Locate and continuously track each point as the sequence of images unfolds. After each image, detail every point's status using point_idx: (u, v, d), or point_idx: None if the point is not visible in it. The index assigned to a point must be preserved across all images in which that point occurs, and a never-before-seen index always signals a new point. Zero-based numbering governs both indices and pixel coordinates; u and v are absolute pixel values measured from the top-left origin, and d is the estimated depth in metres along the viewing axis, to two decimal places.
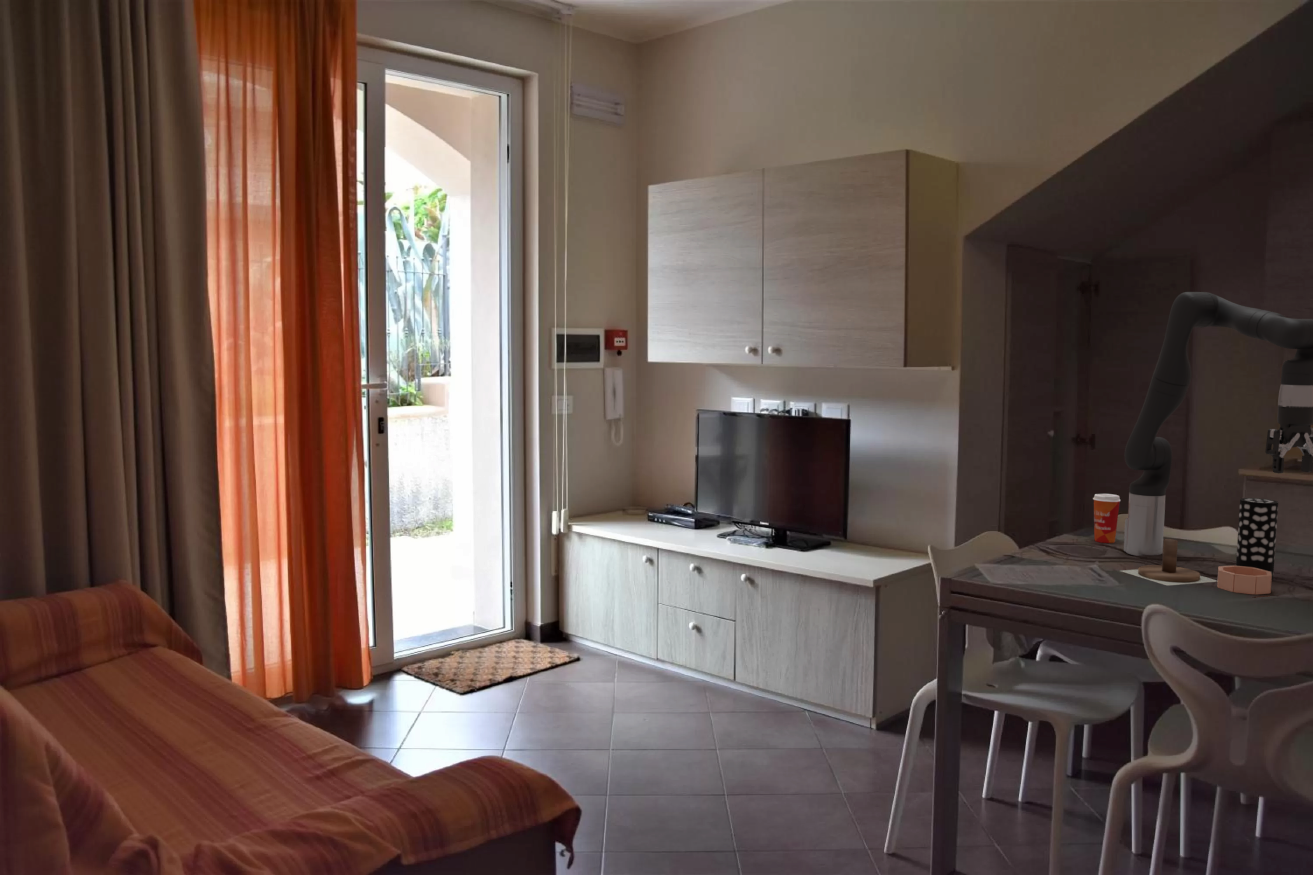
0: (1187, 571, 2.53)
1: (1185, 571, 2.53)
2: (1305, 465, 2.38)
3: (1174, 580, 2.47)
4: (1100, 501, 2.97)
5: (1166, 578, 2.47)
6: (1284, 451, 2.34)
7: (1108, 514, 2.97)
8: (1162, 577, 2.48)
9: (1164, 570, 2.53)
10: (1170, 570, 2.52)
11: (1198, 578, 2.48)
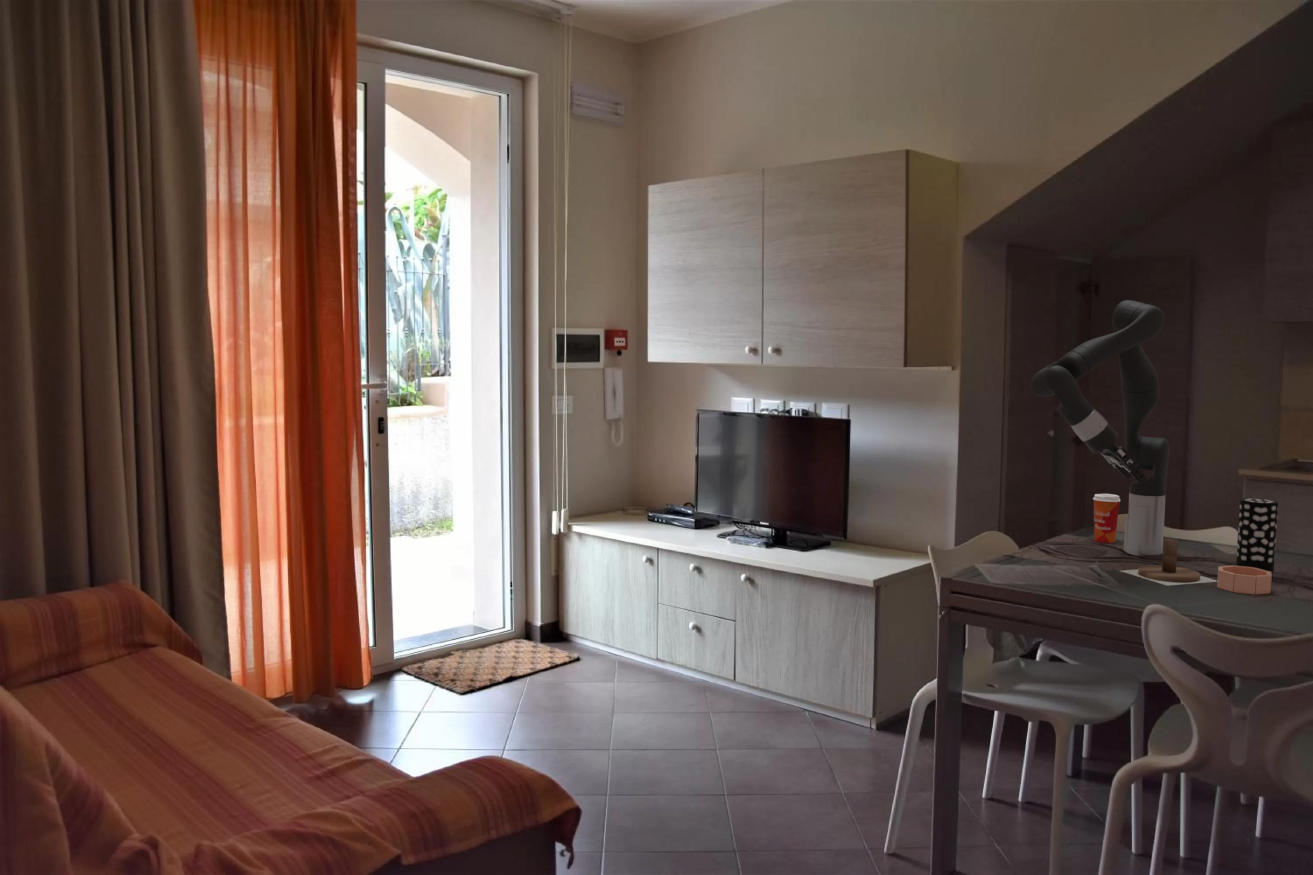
0: (1187, 571, 2.53)
1: (1185, 571, 2.53)
2: None
3: (1174, 580, 2.47)
4: (1100, 501, 2.97)
5: (1166, 578, 2.47)
6: (1113, 464, 2.57)
7: (1108, 514, 2.97)
8: (1162, 577, 2.48)
9: (1164, 570, 2.53)
10: (1170, 570, 2.52)
11: (1198, 578, 2.48)
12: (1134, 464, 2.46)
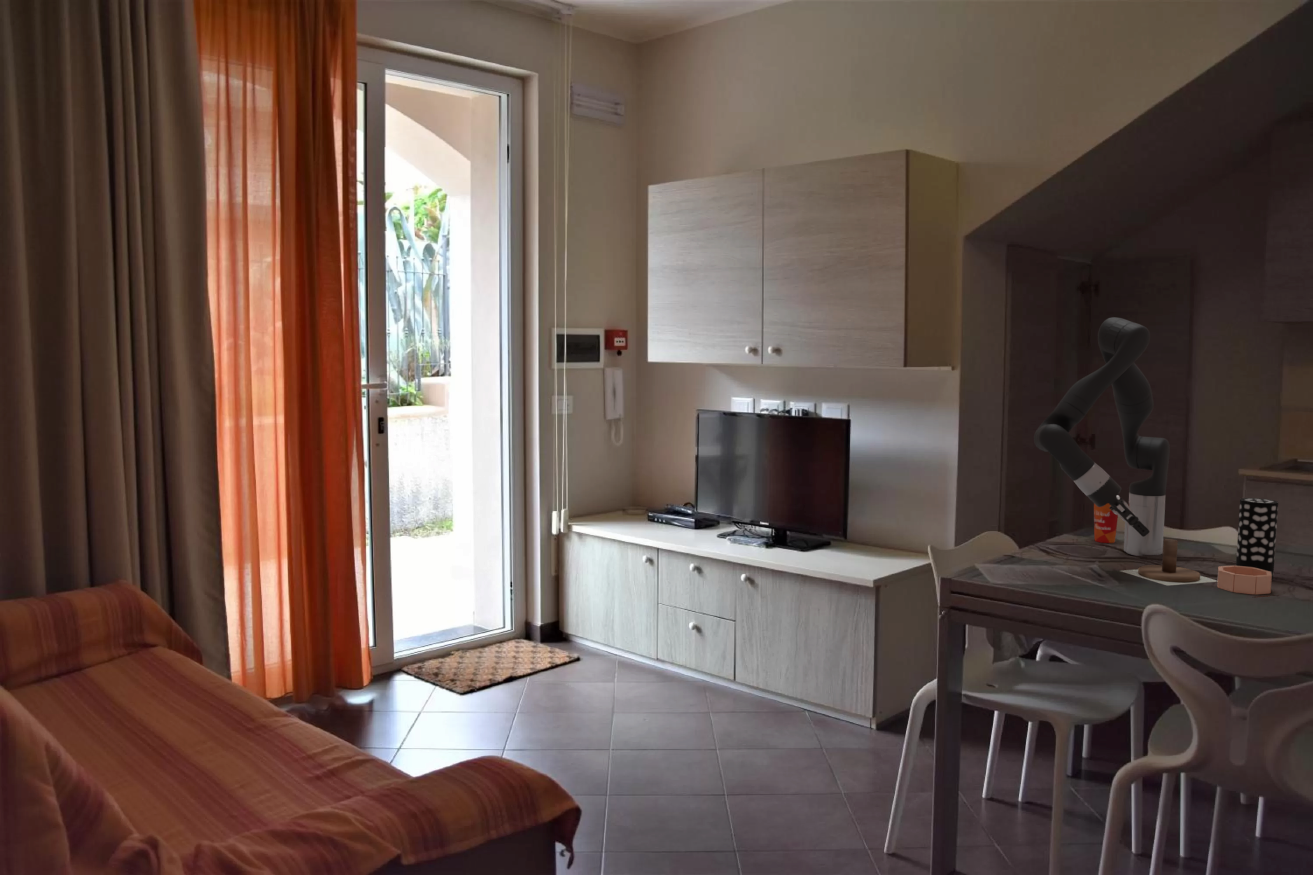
0: (1187, 571, 2.53)
1: (1185, 571, 2.53)
2: None
3: (1174, 580, 2.47)
4: None
5: (1166, 578, 2.47)
6: None
7: (1108, 514, 2.97)
8: (1162, 577, 2.48)
9: (1164, 570, 2.53)
10: (1170, 570, 2.52)
11: (1198, 578, 2.48)
12: (1134, 519, 2.48)
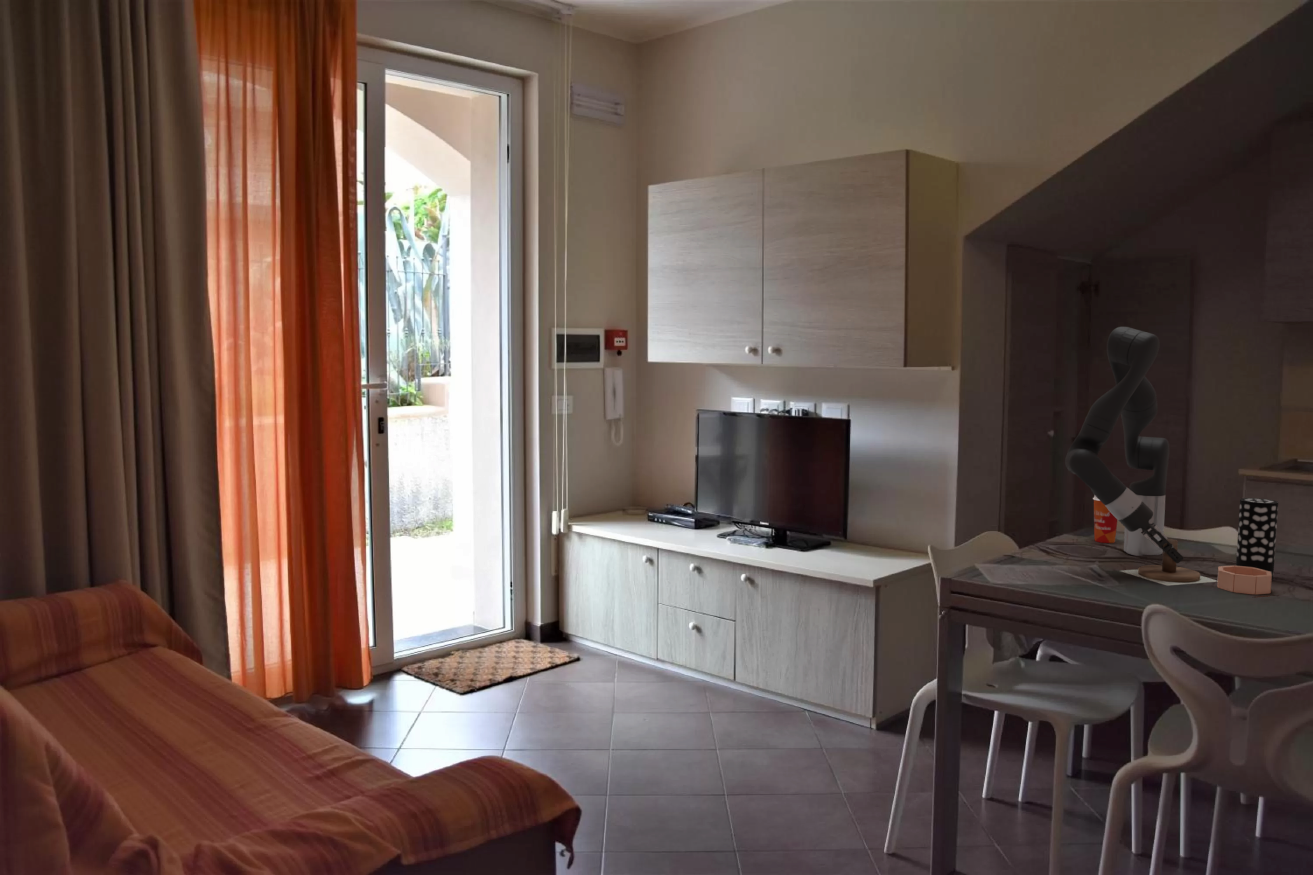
0: (1187, 571, 2.53)
1: (1185, 571, 2.53)
2: None
3: (1174, 580, 2.47)
4: (1100, 501, 2.97)
5: (1166, 578, 2.47)
6: None
7: (1108, 514, 2.97)
8: (1162, 577, 2.48)
9: (1164, 570, 2.53)
10: (1170, 570, 2.52)
11: (1198, 578, 2.48)
12: (1168, 546, 2.49)
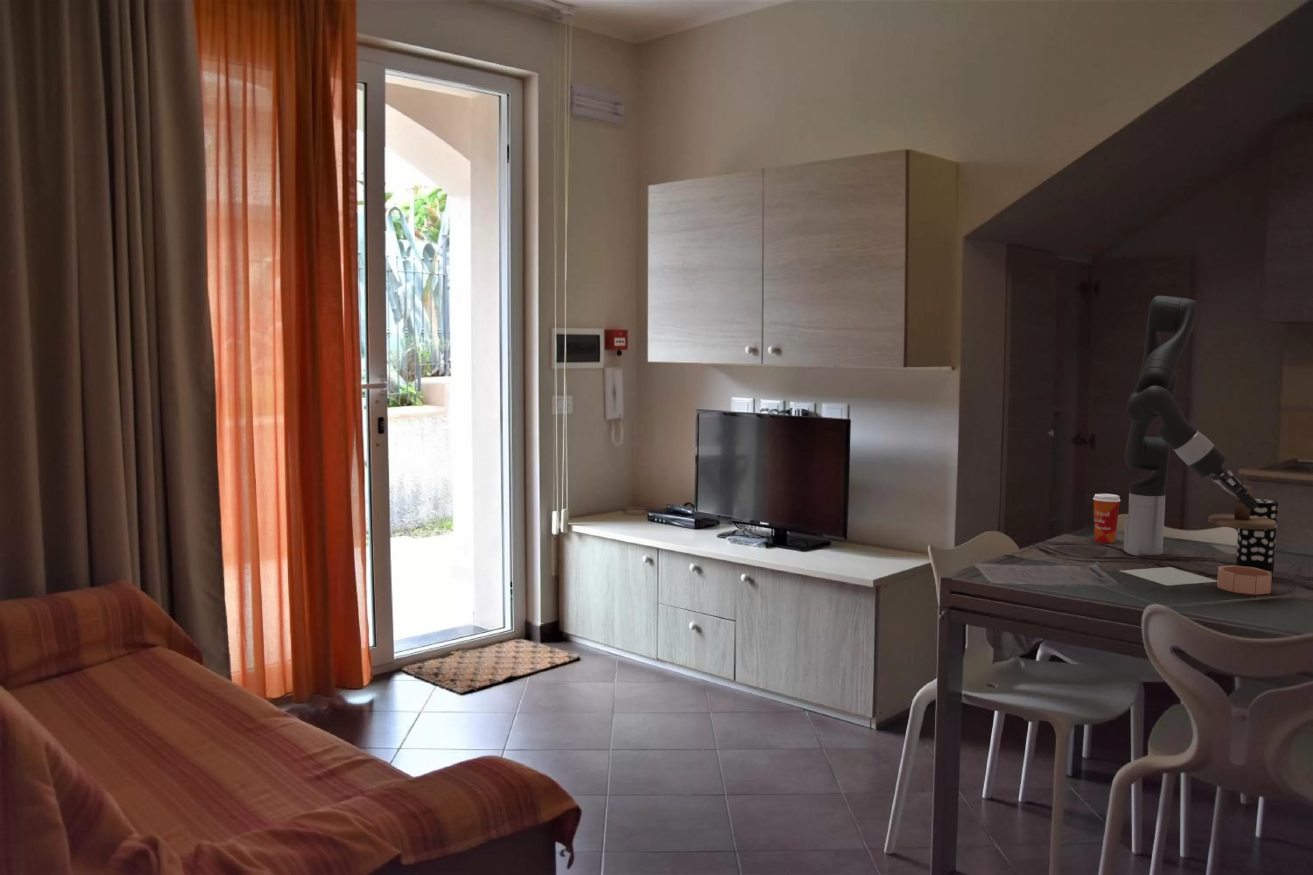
0: (1261, 519, 2.40)
1: (1259, 519, 2.40)
2: None
3: (1249, 527, 2.34)
4: (1100, 501, 2.97)
5: (1240, 525, 2.34)
6: None
7: (1108, 514, 2.97)
8: (1236, 524, 2.35)
9: (1237, 518, 2.40)
10: (1243, 517, 2.39)
11: (1274, 525, 2.35)
12: (1243, 491, 2.35)
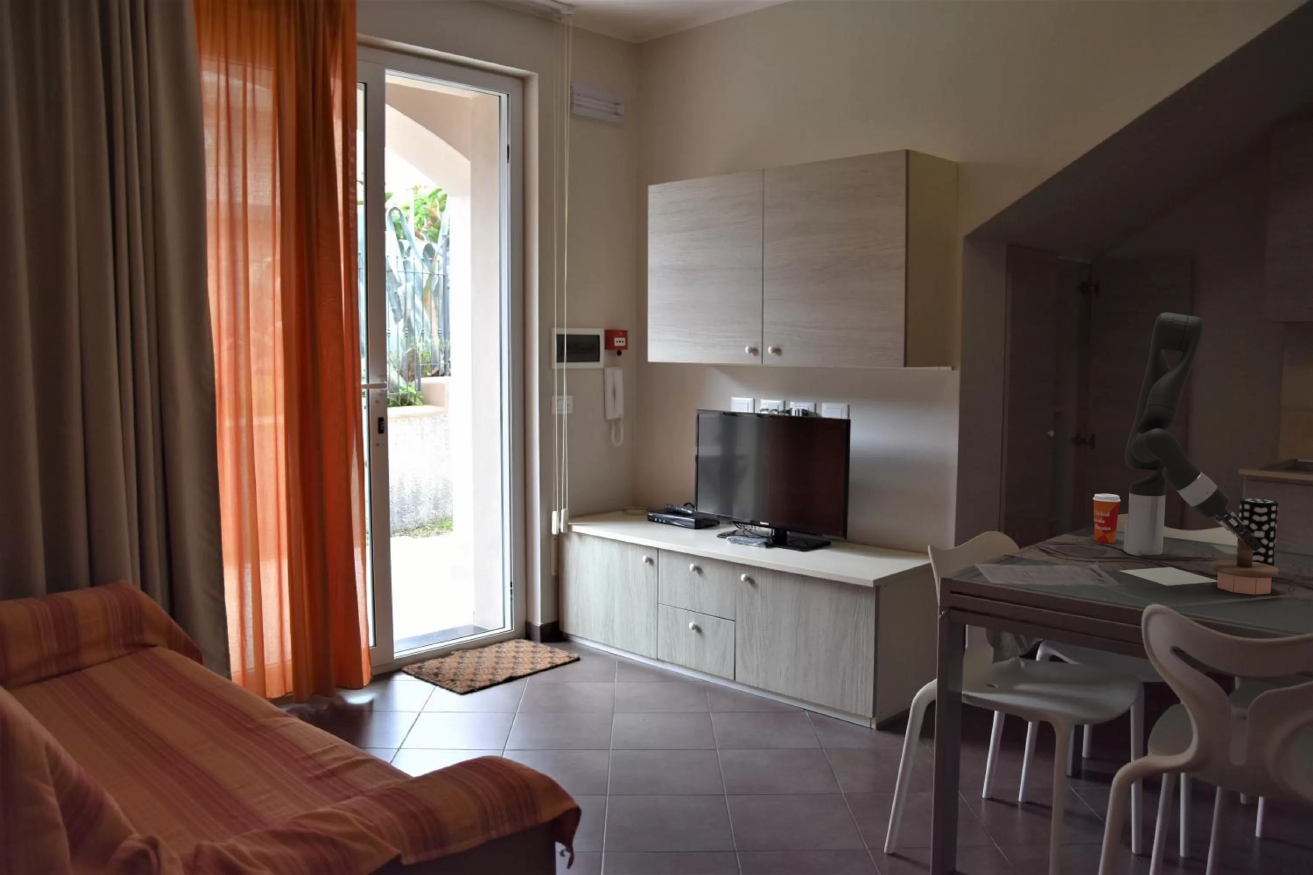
0: (1263, 566, 2.41)
1: (1261, 566, 2.41)
2: None
3: (1252, 575, 2.34)
4: (1100, 501, 2.97)
5: (1243, 573, 2.35)
6: None
7: (1108, 514, 2.97)
8: (1239, 572, 2.35)
9: (1239, 565, 2.40)
10: (1246, 565, 2.39)
11: (1277, 573, 2.36)
12: (1246, 533, 2.35)
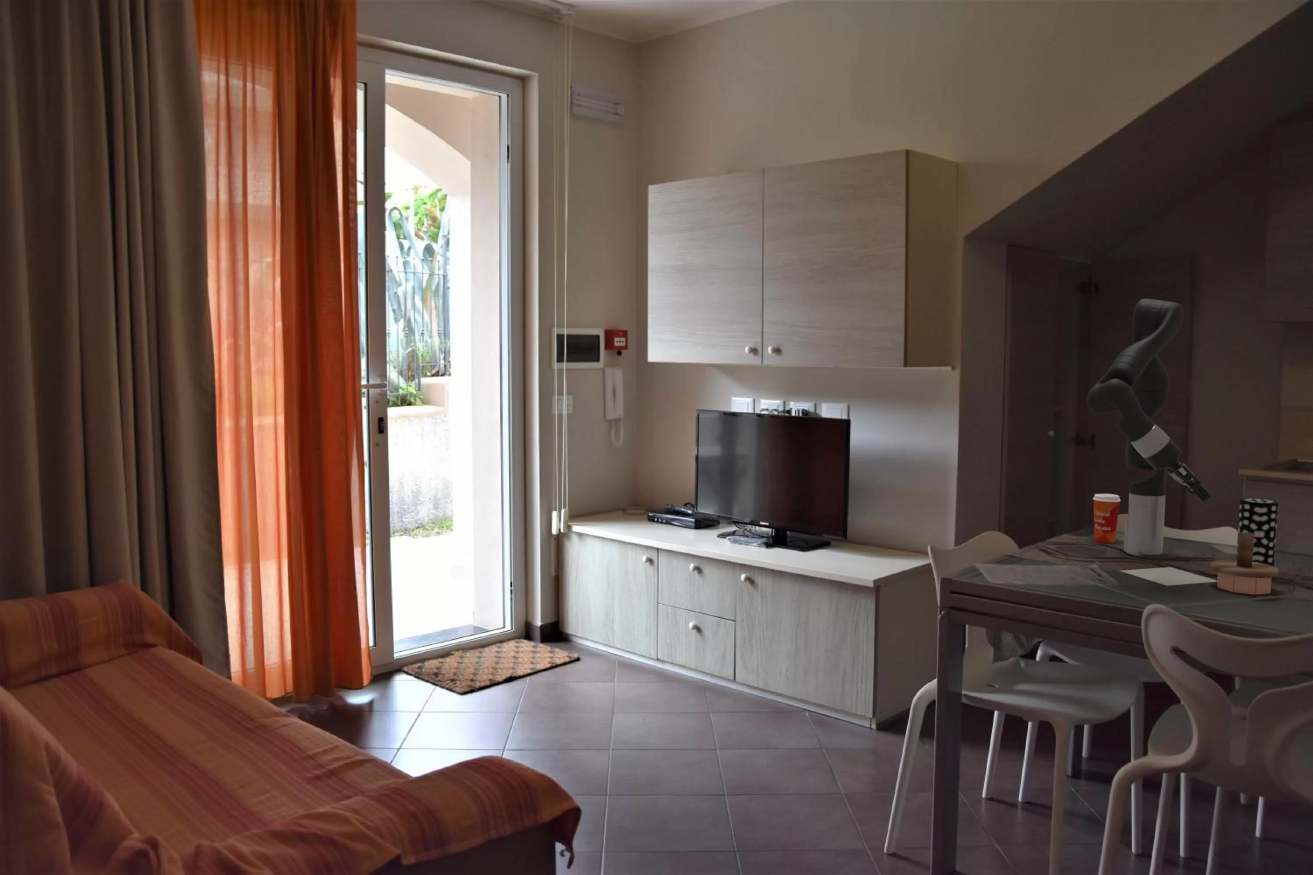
0: (1263, 566, 2.41)
1: (1261, 566, 2.41)
2: None
3: (1252, 575, 2.34)
4: (1100, 501, 2.97)
5: (1243, 573, 2.35)
6: (1177, 480, 2.48)
7: (1108, 514, 2.97)
8: (1239, 572, 2.35)
9: (1239, 565, 2.40)
10: (1246, 565, 2.39)
11: (1277, 573, 2.36)
12: (1196, 483, 2.37)
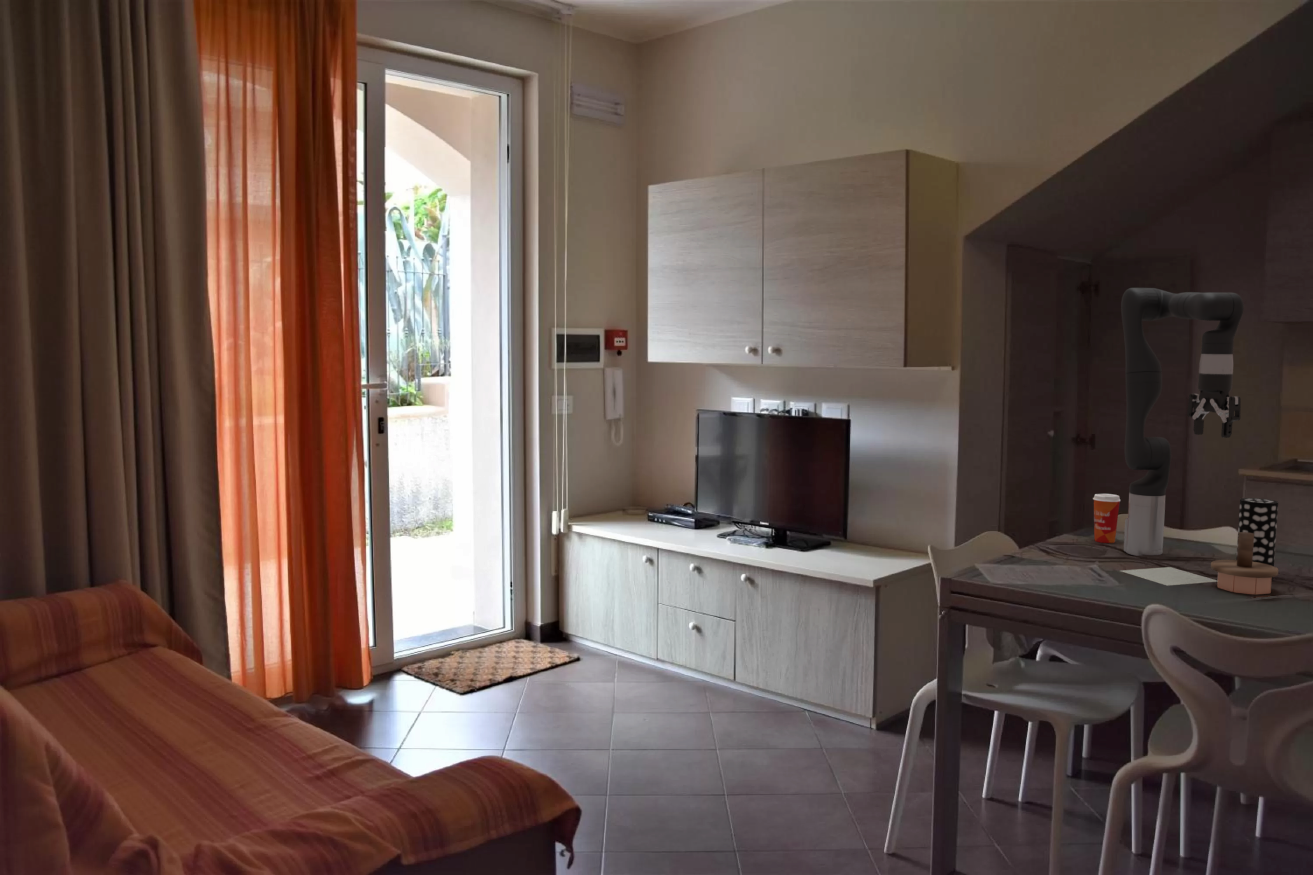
0: (1263, 566, 2.41)
1: (1261, 566, 2.41)
2: None
3: (1252, 575, 2.34)
4: (1100, 501, 2.97)
5: (1243, 573, 2.35)
6: (1196, 414, 2.57)
7: (1108, 514, 2.97)
8: (1239, 572, 2.35)
9: (1239, 565, 2.40)
10: (1246, 565, 2.39)
11: (1277, 573, 2.36)
12: (1237, 417, 2.47)
